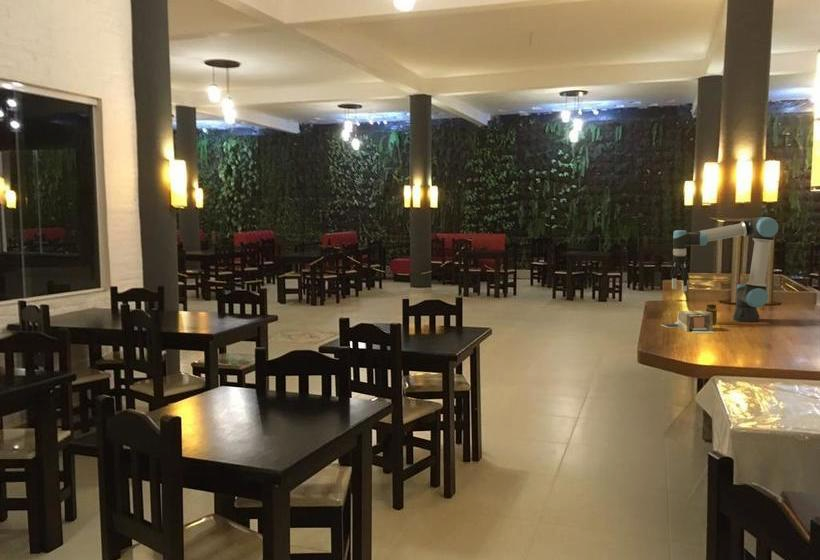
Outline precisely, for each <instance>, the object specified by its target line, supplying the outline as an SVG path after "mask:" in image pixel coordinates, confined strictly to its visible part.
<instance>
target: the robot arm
mask: <svg viewBox="0 0 820 560" xmlns="http://www.w3.org/2000/svg"><path fill="white" fill-rule="evenodd" d="M778 232H779V224H778V222H777V220H776V219H774V218H772V217H768V216H757V217H755V218H750V219H746V220H742V221H741V222H740V223H735V224H729V225H725V226H720V227H714V228H713V227H712V228H709V229H702V230H698V231H692V232H691V231H690V232H687V230H684V229H683V230H681V229H677V230H673V236H672V245H673V246H672V249H673V250H672V255H673V256H672V264H671V265H672V266H671V267H672V268H671V270H670V275H669V277H670V278H671V289H672V290H676V289H678V287H677V286H678V281H677V280H678V279H677V278H678V277H677V276H678V274H680V276H681V278H682V279H681V292H687V291H688V280H690V276H689V272H688V266H687V264H686V263H687V247H689V246H690V247H692V246H696V247H697V246H701V247H702V246H706V245H707V244H708V242H713V241H719V240H723V239H724V240H725V239H729V238H735V237H740V236H743V237H752V240H753V242H754V243H753V244H754V245H753V251H752V258H751V264H750V272H749V279H748V281H747V282H745V283H738V284H737V285H736V289H735V291H736V298H735V299H736V300H735V301H736V303H735V305H736V306H735V310H734V312H733V315H732V321H734V322H735V321H736V322H741V323H742V322H744V323H754V322H755V323H758V322H760V320H761V318H760V314H759V310H758V308H761V307H763V306H765V305H766V304H767V302H768V300H769V293H768V292H767V291H768V289H767V288H768V285H767V284H766V275H767V269H768V262H769V257H770V249H771V244H772V243H773V242H774V241H775V235H777V234H778Z"/></svg>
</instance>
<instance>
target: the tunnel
mask: <svg viewBox="0 0 820 560" xmlns="http://www.w3.org/2000/svg"><path fill="white" fill-rule="evenodd" d="M689 316H702V317H704V327H706V328H707V330H706V331H712V332H713V325H712V319H713V313H711V312H707V311H706V310H678V327H677V328H678V329H679V330H682V331H685V332H690V329H689Z"/></svg>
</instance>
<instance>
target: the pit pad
mask: <svg viewBox="0 0 820 560" xmlns="http://www.w3.org/2000/svg"><path fill="white" fill-rule="evenodd" d="M662 326H663V327H664V328H665V327H666V328H670V329H671V328H675V329H676V328H678V325H677V324H675V323H673V324H672V323H670V324H661V327H662Z"/></svg>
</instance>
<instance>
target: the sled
mask: <svg viewBox="0 0 820 560" xmlns="http://www.w3.org/2000/svg"><path fill="white" fill-rule="evenodd" d="M676 318H677V319H676V321H675V322H674V324H677V325H678V315H677V317H676ZM689 330H691V331H708V330H707V328H706V327H704V317H702V316H701V315H700V316H689Z"/></svg>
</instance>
